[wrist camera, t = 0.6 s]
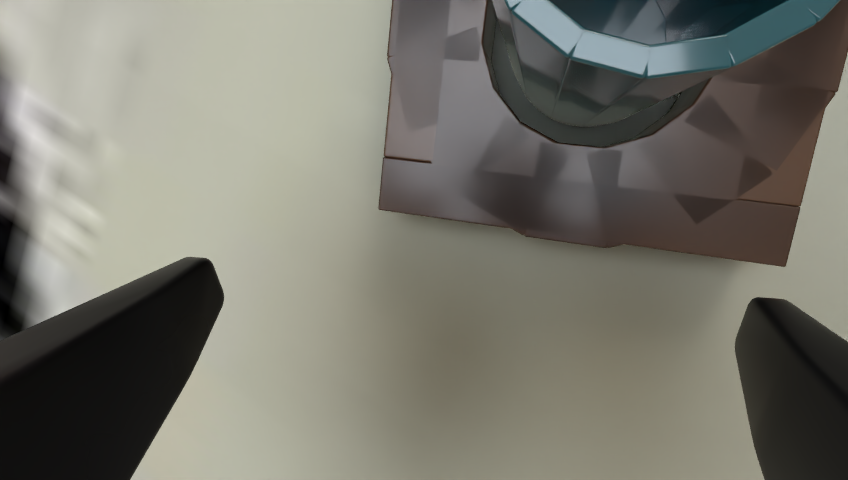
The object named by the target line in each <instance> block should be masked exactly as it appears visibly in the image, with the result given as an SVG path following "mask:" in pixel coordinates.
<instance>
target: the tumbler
mask: <svg viewBox="0 0 848 480" xmlns="http://www.w3.org/2000/svg"><path fill="white" fill-rule="evenodd" d="M492 1H493V5H494V8H495V11H496V15H497V18H498V21H499V25H500V28H501V32H502V35H503V38H504V42H505V45H506V48H507V52H508V55H509V59H510V62H511V65H512V69H513V72H514V74H515V76H516V78H517V80H518V83H519V85H520V87H521V89H522V91H523V92H524V94H525V96H526V98H528V100H529V101H530V102H531V103H532V104H533V105H534V106H535V107H536V108H537V109H538V110H539V111H540V112H542V113H543V114H544V115H546V116H547V117H549V118H551V119H553V120H555V121H558V122H561V123H563V124H567V125H572V126H579V127H594V126H601V125H606V124H612V123H616V122H618V121H620V120H622V119H624V118H626V117H628V116H630V115H633V114H635V113H637V112H639V111H641V110H643V109H645V108H648V107H650V106H652V105H654V104H656V103H658V102H660V101H663V100H665V99H667V98H669V97H671V96H673V95H675V94H678V93H680V92H682V91H684V90H686V89H688V88H690V87H693V86H695V85H697V84H699V83H701V82H703V81H705V80H707V79H710V78H712V77H714V76H716V75H718V74H720V73H722V72H725V71H727V70H729V69H731V68H733V67H735V66H737V65H739V64H741V63H743V62H745V61H747V60H749V59H751V58H753V57H755V56H757V55H759V54H760V53H762V52H764V51H766V50H768V49H770V48H772V47H774V46H776V45H778V44H780V43H782V42H784V41H786V40H787V39H789V38H791V37H793V36H795V35H797V34H799V33H801V32H803V31H805V30H807V29H809V28H811V27H813V26H814V25H815V24H816V23H817V22H819V21H821V20H822V19H823V18H824V17H825V16H826V15H827V14H828V13H829V12H830V11H831V10H832V9H833V8H834V7H835V6H836V5H837V4H838V2H839V1H840V0H492Z"/></svg>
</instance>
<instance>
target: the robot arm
mask: <svg viewBox="0 0 848 480" xmlns="http://www.w3.org/2000/svg"><path fill="white" fill-rule="evenodd" d="M223 302H224V293H223V289H222V287H221V284H220V282H219V279H218V276H217V274H216V271H215V268H214V266H213V264H212V262H211V261H210V260H209V259H206V258H198V257H186V258H183V259H181V260H179V261H177V262H174V263H172V264H170V265H168V266H165V267H163V268H161V269H159V270H157V271H154V272H152V273H150V274H148V275H145V276H143V277H141V278H139V279H137V280H134V281H132V282H130V283H128V284H125V285H123V286H121V287H119V288H117V289H114V290H112V291H110V292H108V293H105V294H103V295H101V296H99V297H97V298H94V299H92V300H90V301H88V302H85V303H83V304H81V305H79V306H77V307H74V308H72V309H70V310H68V311H65V312H63V313H61V314H59V315H57V316H54V317H52V318H50V319H48V320H45V321H43V322H41V323H39V324H37V325H34V326H32V327H30V328H28V329H25V330H23V331H21V332H19V333H17V334H14V335H12V336H10V337H8V338H5V339H3V340H1V341H0V480H130V479H131V477H132V475H133V474H134V472H135V470H136V469H137V467H138V465H139V463H140V462H141V460H142V458H143V457H144V455H145V453H146V451H147V450H148V448H149V446H150V445H151V443H152V441H153V439H154V438H155V436H156V434H157V432H158V431H159V429H160V427H161V426H162V424H163V422H164V420H165V419H166V417H167V415H168V414H169V412H170V410H171V408H172V407H173V405H174V403H175V402H176V400H177V398H178V396H179V395H180V393H181V391H182V390H183V388H184V386H185V384H186V382H187V381H188V379H189V377H190V375H191V373H192V371H193V369H194V367H195V365H196V363H197V361H198V358H199V356H200V354H201V352H202V350H203V347H204V345H205V343H206V341H207V339H208V337H209V334H210V332H211V330H212V328H213V326H214V323H215V321H216V319H217V317H218V315H219V312H220V310H221V308H222V305H223ZM735 353H736V358H737V363H738V369H739V374H740V379H741V384H742V389H743V394H744V399H745V404H746V409H747V414H748V419H749V424H750V429H751V434H752V438H753V443H754V447H755V450H756V454H757V457H758V460H759V464H760V467H761V470H762V473H763V476H764V479H765V480H848V342H847V341H845V340H844V339H842V338H841V337H840V336H838V335H837V334H835V333H834V332H832V331H831V330H829V329H828V328H827V327H825V326H824V325H822V324H821V323H819V322H818V321H816V320H815V319H813V318H812V317H811V316H809V315H808V314H806V313H805V312H803V311H802V310H800V309H799V308H797V307H796V306H795V305H793V304H792V303H790V302H788V301H787V300H784V299H775V298H761V297H757V298H754V299H752V300H751V301H750V303H749V304H748V307H747V309H746V312H745V315H744V317H743V320H742V323H741V326H740V328H739V331H738V334H737V337H736V341H735Z"/></svg>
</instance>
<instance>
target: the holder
mask: <svg viewBox="0 0 848 480" xmlns="http://www.w3.org/2000/svg"><path fill="white" fill-rule="evenodd" d="M497 19H498V18H497V15H496V11H495V8H494V5H493V1H492V0H392V9H391V20H390V31H389V42H388V53H387V56H388V58H387V60H388V63H389V67H390V70H391V84H390V94H389V105H388V116H387V126H386V137H385V148H384V158H383V165H382V176H381V187H380V197H379V210H384V211H391V212H398V213H406V214H413V215H420V216H427V217H434V218H441V219H448V220H455V221H462V222H469V223H477V224H484V225H491V226H498V227H505V228H511V229H513V230H515V231H516V232H518V233H520V234H522V235H525V236H526V237H533V238H540V239H547V240H554V241H560V242H567V243H574V244H581V245H588V246H595V247H602V248H607V247H608V248H610V247H614V246H619V245H623V244H626V245H633V246H640V247H647V248H654V249H661V250H668V251H675V252H682V253H689V254H696V255H704V256H711V257H718V258H725V259H732V260H739V261H746V262H753V263H760V264H767V265H775V266H782V267H785V266H786V263H787V259H788V255H789V251H790V247H791V243H792V239H793V235H794V231H795V227H796V223H797V219H798V215H799V211H800V207H798V206H801V203H802V199H803V195H804V191H805V187H806V182H807V178H808V174H809V170H810V166H811V162H812V158H813V154H814V150H815V146H816V142H817V138H818V134H819V130H820V126H821V122H822V118H823V114H824V110H825V108H826V106H827V105H828V104H829V102H830V101H831V99H832V98H833V97H834V95H835V92H837V91H838V88H839V84H840V80H841V76H842V72H843V68H844V64H845V60H846V56H847V52H848V0H840V1H839V2H838V4H837V5H836V6H835V7H834V8H833V9H832V10H831V11H830V12H829V13H828V14H827V15H826V16H825V17H824V18H823V19H822V20H821V21H819V22H817V23H816V24H815V25H814V26H813V27H811V28H809V29H807V30H805V31H803V32H801V33H799V34H797V35H795V36H793V37H791V38H789V39H787V40H786V41H784V42H782V43H780V44H778V45H776V46H774V47H772V48H770V49H768V50H766V51H764V52H762V53H760V54H759V55H757V56H755V57H753V58H751V59H749V60H747V61H745V62H743V63H741V64H739V65H737V66H735V67H733V68H731V69H729V70H727V71H725V72H722V73H720V74H718V75H716V76H714V77H712V78H710V79H707V80H705V81H703V82H701V83H699V84H697V85H695V86H693V87H690V88H688V89H686V90H684V91H682V93H681V94H680V96H679V97H678V99H677V101H676V102H675V104H674V105H673V107H672V108H671V110H670V111H669V113H667V114H666V115H665V116H663V117H662V118H660V119H659V120H658V121H656V122H655V123H654V124H652V125H651V126H650V127H648V128H647V129H646V130H644V131H643V132H641V133H640V134H639V135H637V136H636V137H635V138H632V139H628V140H625V141H621V142H618V143H614V144H610V145H607V146H603V147H597V146H587V145H578V144H568V143H559V142H557V141H555V140H553V139H551V138H549V137H548V136H546V135H544V134H542V133H540V132H539V131H537V130H535V129H533V128H531V127H529V126H528V125H526V124H524V123H522V122H520V120H519V119H518V118H517V116H516V115H515V114H514V112H513V111H512V110H511V109H510V107H509V106H508V105H507V103H506V102H505V101H504V99H503V98H502V97H501V96H500V93H499V90H498V86H497V82H496V78H495V74H494V70H493V66H492V63H491V57H492V49H493V41H494V34H495V26H496V21H497Z"/></svg>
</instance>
